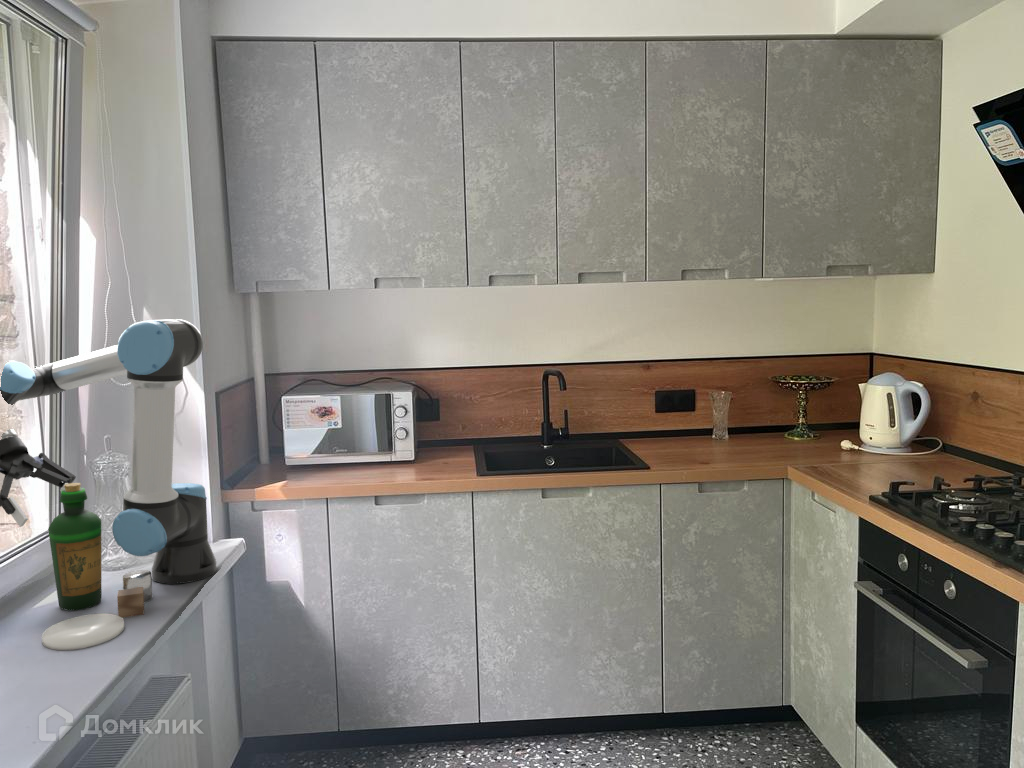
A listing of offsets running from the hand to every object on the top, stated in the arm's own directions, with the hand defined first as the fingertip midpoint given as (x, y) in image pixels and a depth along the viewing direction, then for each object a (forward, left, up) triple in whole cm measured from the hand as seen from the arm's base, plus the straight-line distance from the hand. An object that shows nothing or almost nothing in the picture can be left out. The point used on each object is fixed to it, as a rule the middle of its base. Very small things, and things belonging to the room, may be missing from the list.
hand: (52, 514), depth 177 cm
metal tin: (-17, +7, -20) cm, 27 cm away
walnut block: (-16, +15, -20) cm, 30 cm away
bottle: (-5, +5, -20) cm, 22 cm away
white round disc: (-8, +23, -20) cm, 32 cm away
